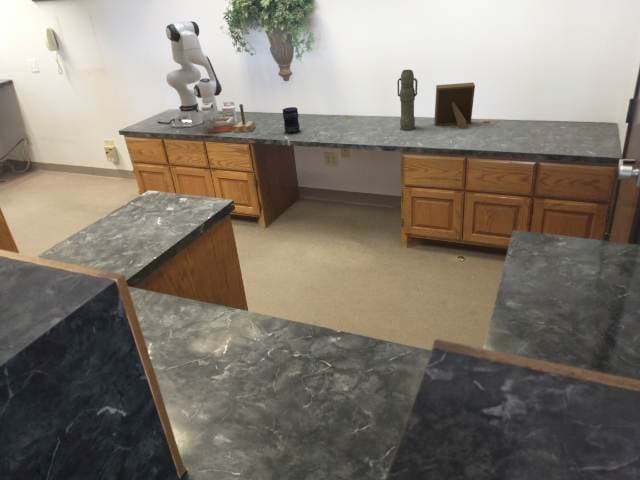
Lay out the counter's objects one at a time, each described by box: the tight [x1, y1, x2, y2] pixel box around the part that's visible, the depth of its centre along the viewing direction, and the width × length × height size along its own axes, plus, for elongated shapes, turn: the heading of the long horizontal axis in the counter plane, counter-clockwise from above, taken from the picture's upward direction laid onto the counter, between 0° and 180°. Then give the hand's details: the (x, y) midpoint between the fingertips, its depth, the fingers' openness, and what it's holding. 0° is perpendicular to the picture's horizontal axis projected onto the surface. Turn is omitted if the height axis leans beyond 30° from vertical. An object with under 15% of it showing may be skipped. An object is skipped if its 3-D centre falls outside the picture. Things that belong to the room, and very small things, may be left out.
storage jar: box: [282, 106, 301, 135], centre depth 328 cm, size 10×10×15 cm
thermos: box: [397, 69, 419, 131], centre depth 308 cm, size 9×12×35 cm
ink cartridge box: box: [221, 101, 238, 125], centre depth 362 cm, size 9×5×15 cm, turn 84°
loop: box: [208, 117, 234, 127], centre depth 350 cm, size 14×14×2 cm
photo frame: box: [433, 82, 476, 129], centre depth 307 cm, size 15×22×25 cm
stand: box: [233, 103, 256, 134], centre depth 343 cm, size 12×12×18 cm
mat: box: [208, 125, 235, 134], centre depth 353 cm, size 16×14×1 cm
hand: (213, 124), depth 346 cm, fingers closed on loop, 2 cm apart
